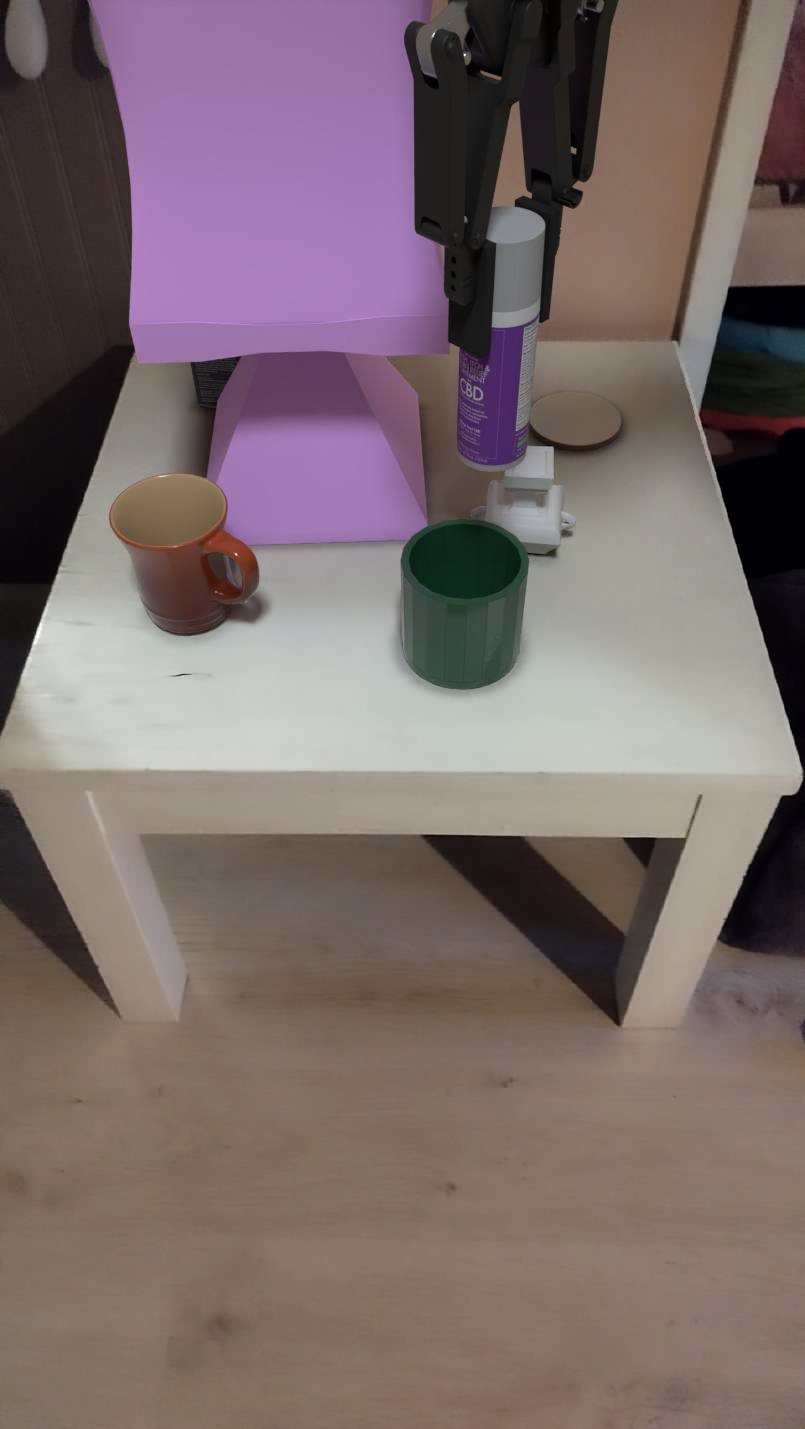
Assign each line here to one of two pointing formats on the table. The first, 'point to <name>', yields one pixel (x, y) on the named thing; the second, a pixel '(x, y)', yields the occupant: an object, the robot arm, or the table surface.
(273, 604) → the table surface
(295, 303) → the chair
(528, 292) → the container
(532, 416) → the coaster
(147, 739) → the table surface
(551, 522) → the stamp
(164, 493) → the mug
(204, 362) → the box
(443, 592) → the cup
